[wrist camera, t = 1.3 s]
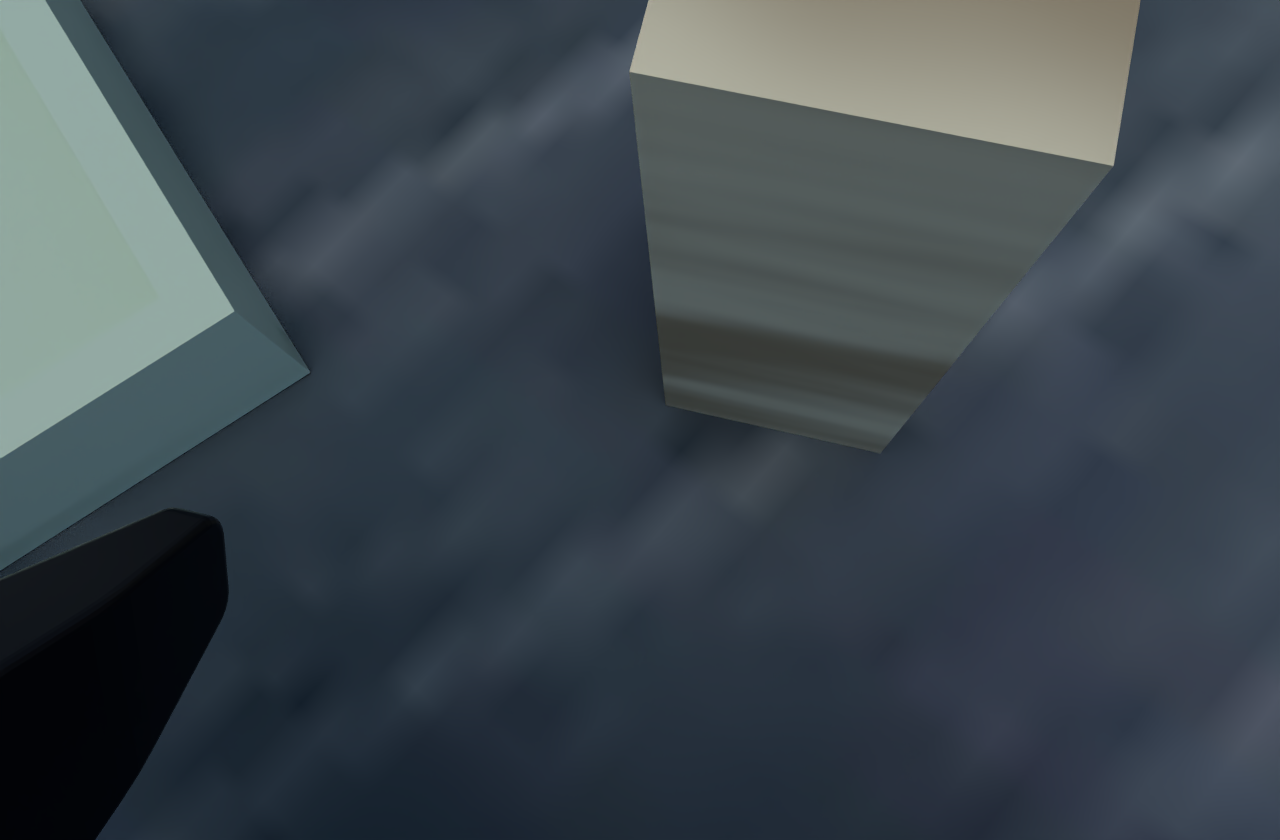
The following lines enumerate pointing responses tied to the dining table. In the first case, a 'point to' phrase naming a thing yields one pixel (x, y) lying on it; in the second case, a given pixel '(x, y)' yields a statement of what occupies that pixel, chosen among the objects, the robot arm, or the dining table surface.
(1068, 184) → the birch post
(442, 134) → the dining table surface
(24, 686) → the robot arm
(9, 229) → the box
